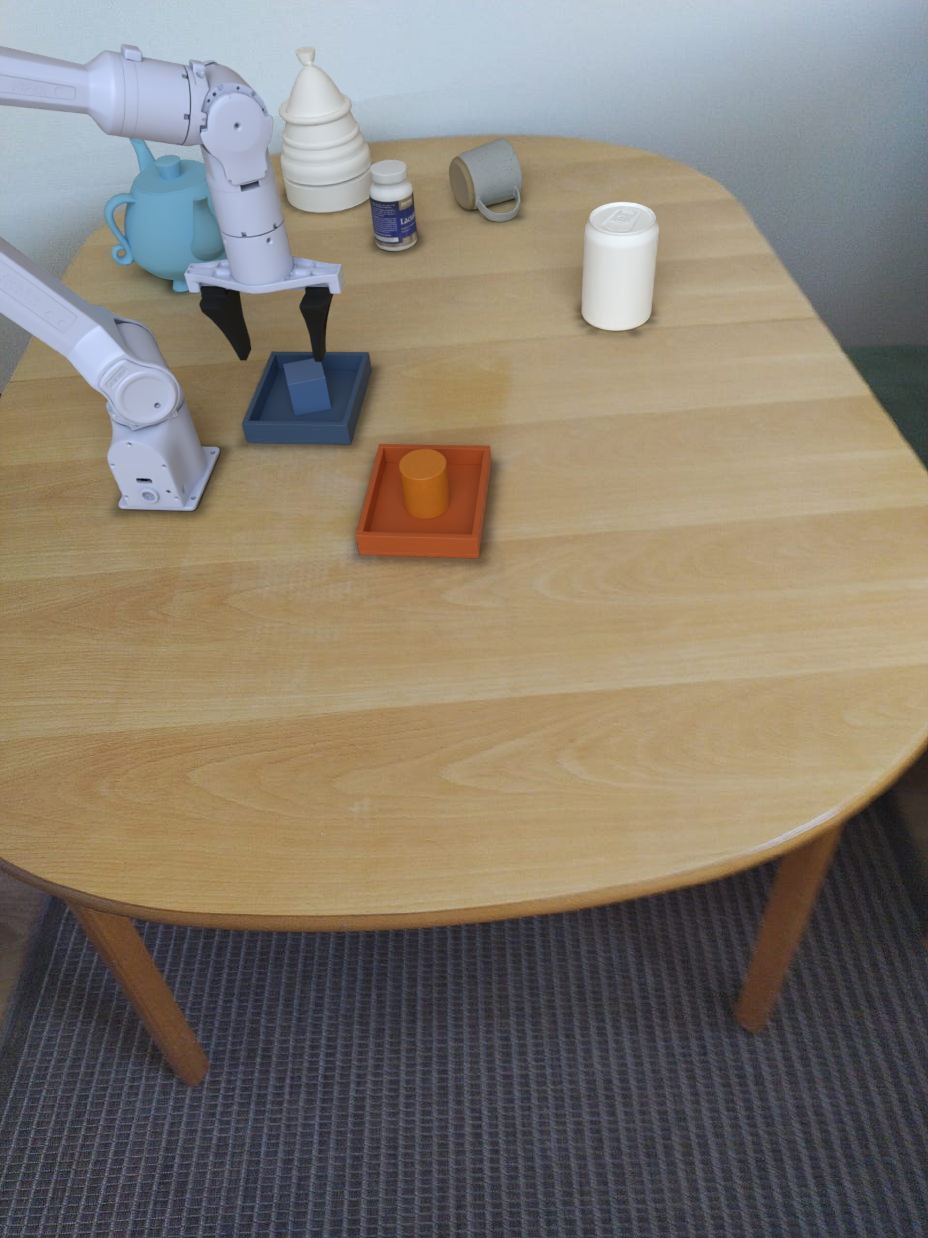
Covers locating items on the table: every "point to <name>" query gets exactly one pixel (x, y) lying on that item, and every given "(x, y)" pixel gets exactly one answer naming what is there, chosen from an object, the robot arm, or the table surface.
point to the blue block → (307, 386)
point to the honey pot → (322, 144)
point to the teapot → (166, 218)
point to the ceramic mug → (487, 178)
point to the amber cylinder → (424, 483)
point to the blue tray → (278, 423)
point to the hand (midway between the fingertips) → (283, 355)
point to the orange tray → (443, 536)
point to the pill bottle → (392, 206)
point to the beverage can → (619, 265)
